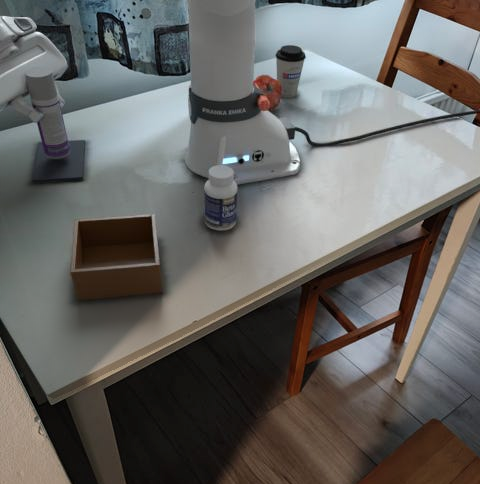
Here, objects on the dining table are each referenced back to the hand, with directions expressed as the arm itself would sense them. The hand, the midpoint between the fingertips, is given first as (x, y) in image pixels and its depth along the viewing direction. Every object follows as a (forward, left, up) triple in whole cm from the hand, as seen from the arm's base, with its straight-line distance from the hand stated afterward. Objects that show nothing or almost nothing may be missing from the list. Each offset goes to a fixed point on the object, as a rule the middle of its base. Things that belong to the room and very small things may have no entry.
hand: (51, 112), depth 94 cm
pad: (+1, 0, -10) cm, 10 cm away
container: (+1, 0, -8) cm, 8 cm away
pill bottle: (-27, +23, -10) cm, 37 cm away
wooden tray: (-10, +33, -10) cm, 36 cm away
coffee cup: (-50, -26, -10) cm, 58 cm away
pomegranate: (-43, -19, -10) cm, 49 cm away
